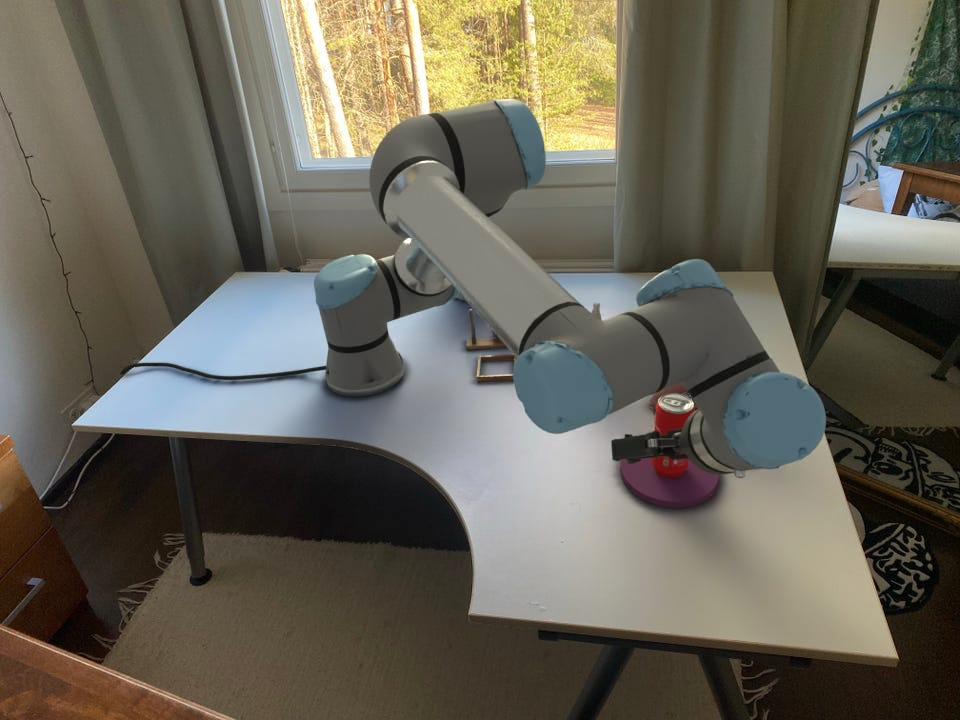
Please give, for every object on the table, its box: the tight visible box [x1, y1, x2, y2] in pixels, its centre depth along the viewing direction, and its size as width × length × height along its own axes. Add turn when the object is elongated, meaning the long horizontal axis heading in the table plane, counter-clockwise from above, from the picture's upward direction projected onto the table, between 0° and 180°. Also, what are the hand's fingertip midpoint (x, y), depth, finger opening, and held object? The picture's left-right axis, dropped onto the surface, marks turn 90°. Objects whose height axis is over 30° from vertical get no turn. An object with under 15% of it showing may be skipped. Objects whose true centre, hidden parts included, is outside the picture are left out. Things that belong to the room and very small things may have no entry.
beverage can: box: [652, 393, 696, 478], centre depth 90 cm, size 5×5×12 cm
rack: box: [466, 308, 517, 382], centre depth 122 cm, size 15×13×8 cm
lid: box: [619, 458, 720, 509], centre depth 93 cm, size 14×14×1 cm
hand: (680, 452), depth 85 cm, fingers open, 13 cm apart
